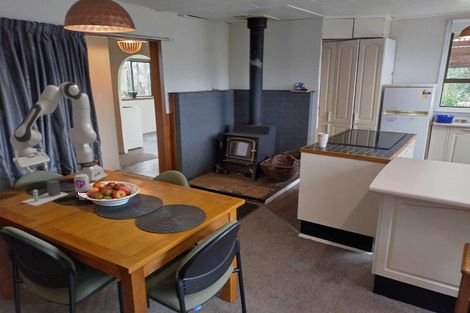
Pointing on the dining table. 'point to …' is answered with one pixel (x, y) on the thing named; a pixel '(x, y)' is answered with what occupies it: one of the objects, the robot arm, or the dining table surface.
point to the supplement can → (81, 184)
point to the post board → (42, 198)
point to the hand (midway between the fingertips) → (39, 171)
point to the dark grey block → (53, 188)
